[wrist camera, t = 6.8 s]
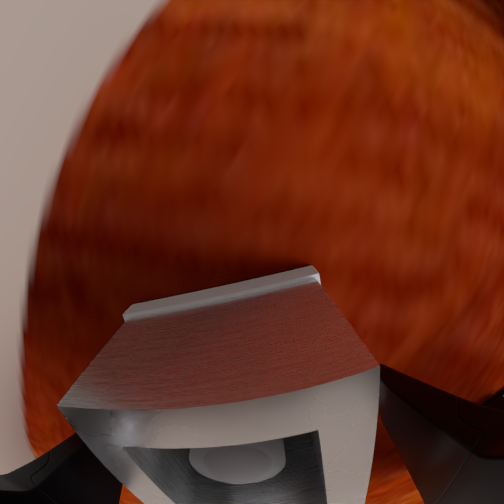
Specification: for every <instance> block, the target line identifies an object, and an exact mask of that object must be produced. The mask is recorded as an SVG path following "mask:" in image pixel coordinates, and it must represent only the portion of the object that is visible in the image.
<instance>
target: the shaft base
mask: <svg viewBox="0 0 504 504" xmlns="http://www.w3.org/2000/svg"><path fill="white" fill-rule="evenodd" d="M312 278H316V279H317V281H318V282H319V283H320V285H321V282H320V276H319V273H318V271H317V270H316V269H315V268H314V267H313V266H312V265H311V266H307V267H302V268H298V269H294V270H290V271H286V272H281V273H277V274H273V275H268V276H264V277H260V278H255V279H251V280H246V281H242V282H237V283H233V284H228V285H224V286H219V287H214V288H210V289H205V290H200V291H196V292H191V293H186V294H181V295H176V296H172V297H167V298H162V299H157V300H152V301H147V302H141V303H136V304H132V305H131V306H130V307H129V308H128V309H127V310H126V311H125V312H124V313H123V314H122V315H123V318H124V320H125V321H126V320H127V319H128V318H129V317H132V316H138V315H144V314H149V313H155V312H160V311H165V310H171V309H176V308H181V307H186V306H191V305H196V304H201V303H206V302H211V301H216V300H221V299H225V298H230V297H235V296H239V295H244V294H249V293H253V292H257V291H262V290H266V289H271V288H275V287H279V286H283V285H288V284H292V283H296V282H300V281H304V280H308V279H312ZM189 461H190V463H191V465H192V466H193V468H194V469H195V470H196V471H198V472H199V473H200V474H202V475H204V476H206V477H208V478H210V479H213V480H216V481H220V482H225V483H230V484H247V483H255V482H260V481H263V480H266V479H269V478H271V477H273V476H275V475H276V474H278V473H279V472H280V471H281V470H282V469H283V468H284V466H285V463H286V456H285V449H284V442H283V438H279V439H274V440H268V441H262V442H255V443H248V444H240V445H231V446H220V447H206V448H190V454H189Z"/></svg>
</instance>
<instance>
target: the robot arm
mask: <svg viewBox="0 0 504 504" xmlns="http://www.w3.org/2000/svg"><path fill="white" fill-rule="evenodd" d="M379 365H380V384H379V403H378V411H379V414H380V416H381V419H382V421H383V424H384V426H385V428H386V430H387V432H388V434H389V435H390V437H391V439H392V441H393V443H394V445H395V447H396V448H397V450H398V452H399V454H400V456H401V458H402V460H403V462H404V464H405V466H406V467H407V469H408V471H409V473H410V475H411V477H412V479H413V481H414V483H415V485H416V487H417V489H418V491H419V493H420V495H421V497H422V499H423V501H424V503H425V504H504V391H502V392H501V393H500V394H499V395H497V396H496V397H495V398H493V399H492V400H490V401H489V402H488V403H486V404H485V405H483V406H482V405H479V404H476V403H473V402H471V401H468V400H465V399H463V398H460V397H459V398H458V397H457V396H455V395H452V394H450V393H448V392H445V391H443V390H440V389H438V388H436V387H433V386H431V385H428V384H426V383H424V382H421V381H419V380H417V379H415V378H412V377H410V376H408V375H405V374H403V373H401V372H399V371H396V370H394V369H392V368H390V367H388V366H385V365H383V364H379ZM122 485H123V484H122V483H121V482H120V481H119V480H118V479H117V478H116V477H115V476H114V475H113V474H112V473H111V472H110V471H109V470H108V469H107V468H106V467H105V466H104V465H103V463H102V462H101V461H100V460H99V459H98V458H97V457H96V456H95V455H94V453H93V452H92V451H91V450H90V449H89V448H88V446H87V445H86V444H85V443H84V442H83V440H82V439H81V438H80V437H79V435H78V434H77V433H75V434H73V435H72V436H70V437H69V438H67V439H66V440H65V441H63V442H62V443H60V444H59V445H57V446H56V447H54V448H53V449H51V451H48V452H46V453H45V454H43V455H42V456H40V457H39V458H37V459H35V460H33V461H32V462H30V463H28V464H26V465H24V466H22V467H20V468H18V469H16V470H14V471H12V472H10V473H8V474H4V475H0V504H119V500H120V495H121V490H122Z"/></svg>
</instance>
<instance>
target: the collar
mask: <svg viewBox="0 0 504 504" xmlns="http://www.w3.org/2000/svg"><path fill="white" fill-rule="evenodd" d="M379 384H380V365H379V364H378V362H377V361H376V360H375V358H374V357H373V355H372V354H371V353H370V351H369V350H368V348H367V347H366V346H365V344H364V343H363V341H362V340H361V339H360V337H359V336H358V335H357V333H356V332H355V330H354V329H353V328H352V326H351V325H350V324H349V322H348V321H347V319H346V318H345V317H344V315H343V314H342V313H341V311H340V310H339V309H338V307H337V306H336V305H335V303H334V302H333V301H332V299H331V298H330V297H329V295H328V294H327V293H326V291H325V290H324V289H323V287H322V286H321V285H320V283H319V282H318V281H317V279H316V278H312V279H308V280H304V281H300V282H296V283H292V284H288V285H283V286H279V287H275V288H271V289H266V290H262V291H257V292H253V293H249V294H244V295H239V296H235V297H230V298H225V299H221V300H216V301H211V302H206V303H201V304H196V305H191V306H186V307H181V308H176V309H171V310H165V311H160V312H155V313H149V314H144V315H138V316H132V317H129V318H128V319H127V320H126V321H125V322H124V324H123V325H122V326H121V327H120V328H119V329H118V331H117V332H116V333H115V334H114V335H113V336H112V338H111V339H110V340H109V341H108V342H107V344H106V345H105V346H104V347H103V348H102V350H101V351H100V352H99V353H98V354H97V356H96V357H95V358H94V359H93V360H92V362H91V363H90V364H89V365H88V367H87V368H86V369H85V370H84V372H83V373H82V374H81V375H80V376H79V378H78V379H77V380H76V382H75V383H74V384H73V385H72V387H71V388H70V389H69V390H68V392H67V393H66V394H65V396H64V397H63V398H62V399H61V401H60V402H59V403H58V405H57V407H58V408H59V410H60V411H61V412H62V414H63V415H64V417H65V418H66V419H67V421H68V422H69V424H70V425H71V426H72V428H73V429H74V430H75V431H76V433H77V434H78V435H79V437H80V438H81V439H82V440H83V442H84V443H85V444H86V445H87V446H88V448H89V449H90V450H91V451H92V452H93V453H94V455H95V456H96V457H97V458H98V459H99V460H100V461H101V462H102V463H103V465H104V466H105V467H106V468H107V469H108V470H109V471H110V472H111V473H112V474H113V475H114V476H115V477H116V478H117V479H118V480H119V481H120V482H121V483H122V484H123V485H124V486H125V487H126V488H127V489H128V490H130V491H131V492H132V493H133V494H134V495H135V496H136V497H137V498H138V499H140V500H141V501H142V502H143V503H144V504H364V503H365V499H366V494H367V489H368V484H369V479H370V473H371V467H372V460H373V453H374V446H375V437H376V428H377V417H378V403H379ZM279 438H283V442H284V449H285V456H286V463H285V466H284V468H283V469H282V470H281V471H280V472H279V473H278V474H276V475H275V476H273V477H271V478H269V479H266V480H263V481H260V482H255V483H247V484H230V483H225V482H220V481H216V480H213V479H210V478H208V477H206V476H204V475H202V474H200V473H199V472H198V471H196V470H195V469H194V468H193V466H192V465H191V463H190V461H189V454H190V448H206V447H220V446H231V445H240V444H248V443H255V442H262V441H268V440H274V439H279Z"/></svg>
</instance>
